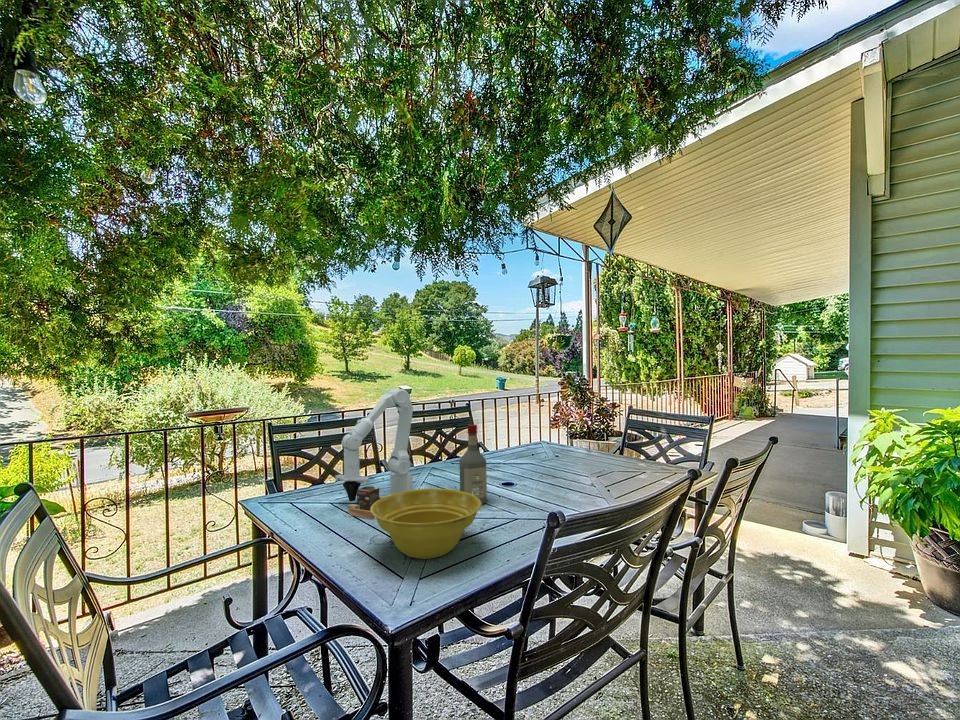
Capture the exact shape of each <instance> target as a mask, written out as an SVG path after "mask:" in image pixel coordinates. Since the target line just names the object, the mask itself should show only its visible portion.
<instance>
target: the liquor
mask: <svg viewBox="0 0 960 720" xmlns="http://www.w3.org/2000/svg"><path fill="white" fill-rule="evenodd" d="M477 434H478V426H477V424H467V443H468V444H467V450H466V451H465V452H464V454H463V455H461V457H460V458H459V491H462V492H466V493H469V494H472V495H474V496H476V497H477V498H478V499H480V501H481V503H482V504H483V505H485V504H486V503H487V501H488V496H487V495H488V491H487V489H488V486H487V483H488V482H487V460H486V458H485V456H483V454H482V453H481V452H480V451H479V448H478V435H477ZM484 503H485V504H484Z"/></svg>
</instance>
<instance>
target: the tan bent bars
mask: <svg viewBox="0 0 960 720" xmlns="http://www.w3.org/2000/svg"><path fill="white" fill-rule="evenodd" d="M384 497H386V495H385V496H384V495H379V499H381V498H384ZM346 508H347V510H346V511H347V512H349V513H348V514H349V515H351V516H350V517H353V516H357V517H356V518H360V517H362V518H361V519H366V518H369V519H368V520H374V519H376V518H375V516H373V514H372V513H371V511H368V510H361V509H360V505H357V504H348V505H347V506H346Z"/></svg>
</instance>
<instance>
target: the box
mask: <svg viewBox="0 0 960 720" xmlns="http://www.w3.org/2000/svg"><path fill="white" fill-rule="evenodd" d="M379 496H380V487H375V486H370V485H366V486H364V487H363V486H362V487H361V488H359V489H358V490H357V495H356V505H360V509H361V510H368V511H370V509H371V506H372V505H373V504H374V503H375V502H376V501H378V500H379Z"/></svg>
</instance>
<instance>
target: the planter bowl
mask: <svg viewBox="0 0 960 720" xmlns="http://www.w3.org/2000/svg"><path fill="white" fill-rule="evenodd" d="M388 495H389V494H388ZM482 506H483V505H482V503H481V501H480V499H478V498H477V497H476V496H474V495H472V494H469V493H466V492H462V491H460V490H456V489H450V488H422V489H421V488H419V489H412V490H410V491H404V492H399V493H395V494H392V495H389V496H387V495H385V497H384V498H381V499H379V500H378V501H376V502H375V503H374V504H373V505H372V506H371V509H370V511H371V513H372V514H373V516H375V517H376V518H375V519H376V522H377V523H378V525H379V527H380V528H381V530H382V531H384V532H385V533H388V534H389V536H390V539H391V540H392V542H393V544H394V545H395V546H396V548H397V549H398V551H399V552H401V553H402V554H404V555H406V556H408V557H409V558H414V559H423V560H425V559H435V558H438V557H442V556H444V555H446V554H448V553H450V551H452V550H454V549H455V547H456V546H457V545H458V543H459V541H460V540H461V538H462V536H463V533H464V532H465V529H468V527H469V526H471V525H472V523H473V522H474V520H475V518H476V516H477V513H478V512H479V510H480V509H481V508H482Z"/></svg>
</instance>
